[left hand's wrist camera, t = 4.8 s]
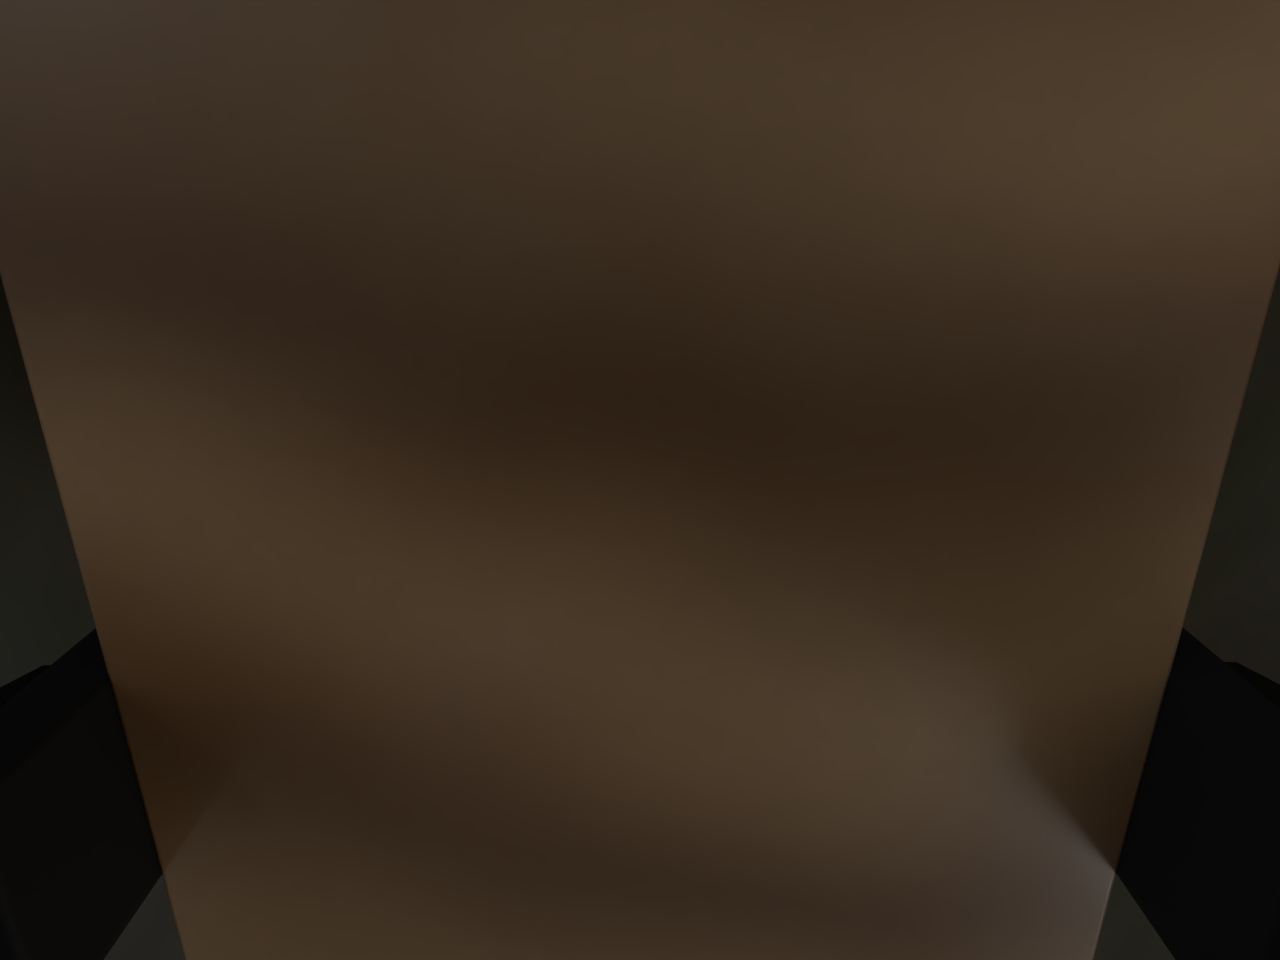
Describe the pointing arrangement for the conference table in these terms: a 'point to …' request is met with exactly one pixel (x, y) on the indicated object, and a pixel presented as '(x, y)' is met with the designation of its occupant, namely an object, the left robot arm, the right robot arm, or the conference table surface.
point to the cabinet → (639, 450)
